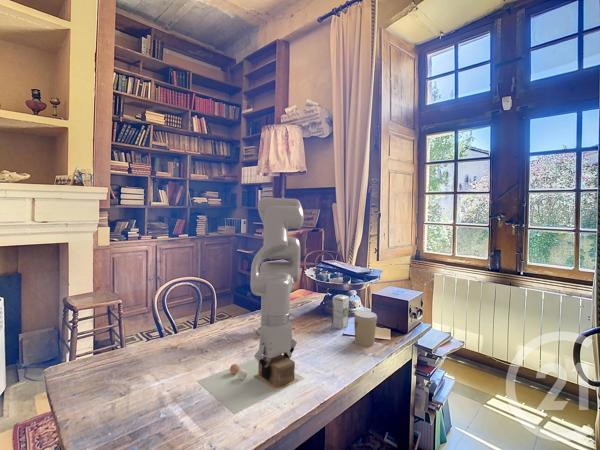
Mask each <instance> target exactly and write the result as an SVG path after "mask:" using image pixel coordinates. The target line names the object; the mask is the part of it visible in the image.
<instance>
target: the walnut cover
mask: <svg viewBox="0 0 600 450" xmlns="http://www.w3.org/2000/svg"><path fill="white" fill-rule="evenodd" d="M283 355H284V354H281V355H278V356H276V357H273V358H271V361H270V363H269V367H270V379H269V380H267V379H265V378H264V377H262V365H261V364H260V363H259V367H258V375H259V376H261V377H262V378H264V379H265V380H267V381H268V382H270V383H271V384H273V385H274V386H276V387H278V388H280V387H282V386H284V385H286V384H288V383H290V382H292V381H294V372H295V370H296V369H295V368H296V367H295V366H296V363H295V361H294V360H293V359H291V358H290V359H289V358H287V357H285V356H283ZM262 356H263V354H262V355H261V358H262ZM266 360H267V357H266V359H265V362H266ZM295 373H296V372H295Z"/></svg>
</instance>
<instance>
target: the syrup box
mask: <svg viewBox="0 0 600 450" xmlns="http://www.w3.org/2000/svg"><path fill="white" fill-rule="evenodd" d="M349 301H350V297H349V296H348V295H345V294H337V295H334V296H332V305H331V325H330V326H331V327H332V328H335V329H339V330H343V329H345V328H347V327H348V325H349V306H350V305H349Z"/></svg>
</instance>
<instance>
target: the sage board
mask: <svg viewBox="0 0 600 450" xmlns="http://www.w3.org/2000/svg"><path fill="white" fill-rule="evenodd" d="M237 365H238V366H239V370H241V369H245V370H246V371H247V377H246V378H245V379H243V380H241V379H239V378H238V375H237V374H238V373H237V374H232V373H231V372H230V368H228V369H225V370H222V371H220V372H217V373H215V374H212V375H209V376H206V377H204V378H201V379H199V380H197V381H196V382H197V383H198V384H199V385H201V386H202V387H203V388H204V389H205V390H206V391H208V393H210V395H212V396H213V397H214V398H215V399H216V400H218V401H219V402H220V403H221V404H222V405H223V406H224V407H225V408H227V410H228V411H230V412H231V413H232V414H233V415H236V414H238V413H239V412H241V411H243V410H245V409H248V408H250V407H252V406H253V405H255V404H257V403H260V402H261V401H263V400H265V399H267V398H269V397H271V396H273V395H275V394H278V393H280V392H282V391H283V390H285V389H287V388H289V387H291V386H293V385H295V384H298V383H299V382H301V381H304V380H305V379H306V377H304V376H301V375H300V374H298V373H296V372H294V377H295V378H296V379H298V381H297V382H295V383H293V384H291V385H289V386H287V387H285V388H283V389H281V390H278V391H274V390H273V389H271V388H270V387H268V386H267V385H265V384H264V383H262V382H261V381H259V380H258V379H257V378H255V377H254V376H255V375H257V374H258V367H259V362H258V361H257V360H256V359H255V358H253V359H252V360H249V361H246V362H243V363H240V364H237Z"/></svg>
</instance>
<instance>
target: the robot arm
mask: <svg viewBox="0 0 600 450" xmlns="http://www.w3.org/2000/svg"><path fill="white" fill-rule="evenodd" d="M257 210H258V215H259V217H260V220H261V222H262V225H263V246H262V247H261V248H260V249H259V250H258V251H257V252H256V254H255V255H254V257H253V260H252V262H251V267H250V290H251V293H252V294H253V295H254V296H256V297H257V296H258V297H261V298H260V306H261V307H260V326H259V328H258V329H257V330H256V333H257V335H258V336H259V345H258V346H259V348H258V350H257V351H256V352H255V354H254V355H253V359H256V360H257V361H258V362H259V363H260V364H261V365H262V377H264V378H265V379H267V380H269V379H270V367H269V363H270V361H271V358H273V357H276V356H278V355H281V354H282V355H283V356H285V357H287V358H289V359H291V358H292V356H293V353H294V351H295V347H296V346H297V343H298V341H296V340H295V339H293V334H292V331H293V330H292V323H291V320H290V316H291V315H292V313H291V311H290V303H291V302H290V301H291V300H290V297H291V295H290V294H291V293H292V291H293V290H294V284H296V283H298V282H299V280H300V277H301V276H300V275H301V243H300V241H299V239H298V238H297V237H293V236H289V232H288V231H289V229H301V228H302V227H303V225H304V219H305V217H304V210H303V206H302V204H301V202H300V200H299V199H297V198H283V197H282V198H279V197H265V198H261V199H259V200H258V203H257ZM266 259H271V260H270V261H265V260H266ZM277 260H278V261H277ZM279 260H282V261H279ZM283 260H287V261H283ZM288 260H289V261H288ZM263 261H265V262H263ZM262 262H263V263H262ZM261 355H263V356H262V358H261ZM266 357H267V360H266V362H265V359H266Z"/></svg>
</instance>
